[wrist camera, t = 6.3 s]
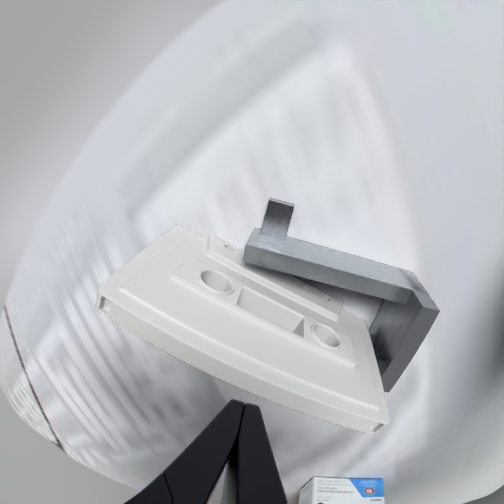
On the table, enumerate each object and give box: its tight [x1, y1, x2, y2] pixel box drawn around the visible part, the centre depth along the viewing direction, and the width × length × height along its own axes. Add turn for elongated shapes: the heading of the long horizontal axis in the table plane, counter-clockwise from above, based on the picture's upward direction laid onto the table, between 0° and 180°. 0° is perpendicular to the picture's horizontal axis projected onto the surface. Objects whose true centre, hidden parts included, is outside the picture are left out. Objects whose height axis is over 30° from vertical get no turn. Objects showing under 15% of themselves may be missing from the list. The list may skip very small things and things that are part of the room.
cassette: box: [95, 225, 390, 435], centre depth 13 cm, size 12×2×8 cm, turn 64°
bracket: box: [242, 198, 440, 392], centre depth 14 cm, size 9×9×4 cm
